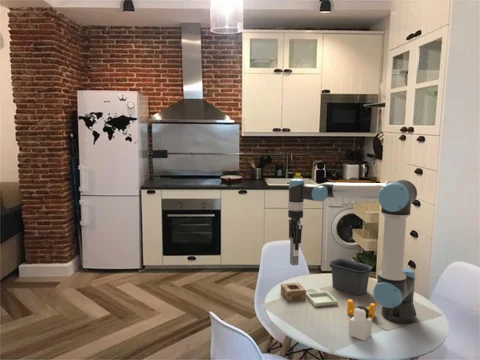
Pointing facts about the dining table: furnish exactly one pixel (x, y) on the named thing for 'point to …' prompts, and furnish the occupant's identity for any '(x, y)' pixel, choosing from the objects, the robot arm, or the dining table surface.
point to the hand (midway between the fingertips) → (294, 254)
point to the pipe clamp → (371, 308)
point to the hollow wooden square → (293, 291)
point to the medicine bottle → (360, 323)
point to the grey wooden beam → (292, 258)
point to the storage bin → (350, 276)
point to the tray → (321, 299)
